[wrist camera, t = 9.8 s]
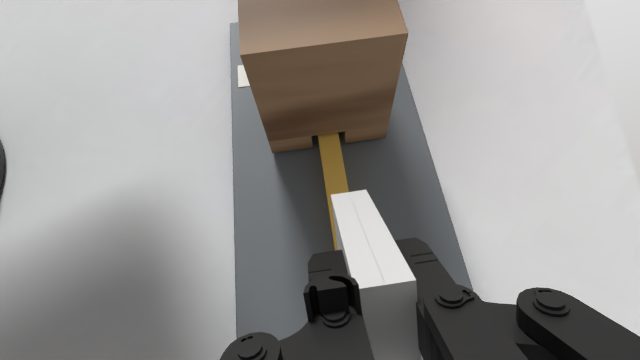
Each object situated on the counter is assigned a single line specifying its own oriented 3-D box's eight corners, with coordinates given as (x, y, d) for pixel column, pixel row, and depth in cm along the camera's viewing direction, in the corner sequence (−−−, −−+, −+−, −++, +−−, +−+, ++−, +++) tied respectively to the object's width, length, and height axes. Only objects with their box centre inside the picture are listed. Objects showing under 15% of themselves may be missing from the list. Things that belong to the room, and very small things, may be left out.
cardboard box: (385, 137, 22) (408, 32, 15) (272, 153, 22) (240, 55, 15) (367, 65, 24) (378, -54, 17) (266, 78, 24) (236, -36, 17)
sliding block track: (496, 387, 17) (545, 397, 13) (242, 424, 16) (212, 446, 13) (382, 12, 28) (389, -44, 24) (232, 31, 28) (215, -21, 24)
